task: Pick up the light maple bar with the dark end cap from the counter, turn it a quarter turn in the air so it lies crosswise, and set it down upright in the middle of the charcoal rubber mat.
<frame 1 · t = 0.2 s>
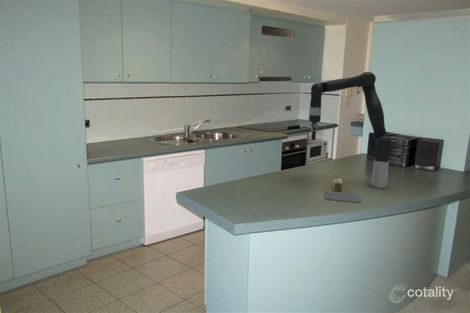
hand: (313, 138, 267), 28 cm above the countertop, tool pointing down, fingers open, 8 cm apart
mat: (342, 197, 238), on the countertop
maple bar: (337, 188, 256), on the countertop
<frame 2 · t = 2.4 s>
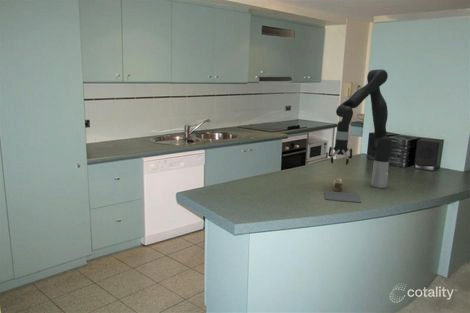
hand: (339, 164, 253), 16 cm above the countertop, tool pointing down, fingers open, 8 cm apart
nothing on the countertop moved.
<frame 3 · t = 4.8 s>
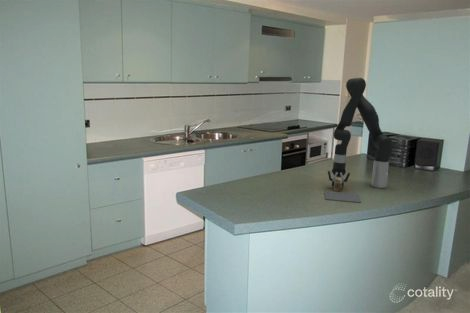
hand: (337, 187, 256), 1 cm above the countertop, tool pointing down, fingers closed on maple bar, 4 cm apart
maple bar: (337, 188, 256), on the countertop, touching gripper
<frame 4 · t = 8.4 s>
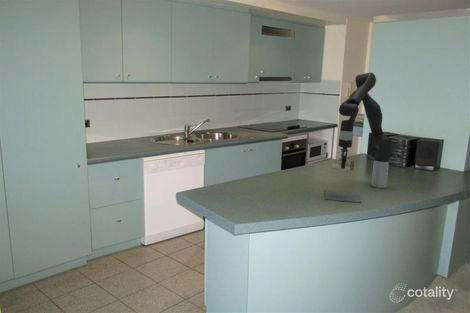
hand: (342, 167, 236), 18 cm above the countertop, tool pointing down, fingers closed on maple bar, 4 cm apart
maple bar: (342, 168, 237), point 17 cm above the countertop, touching gripper
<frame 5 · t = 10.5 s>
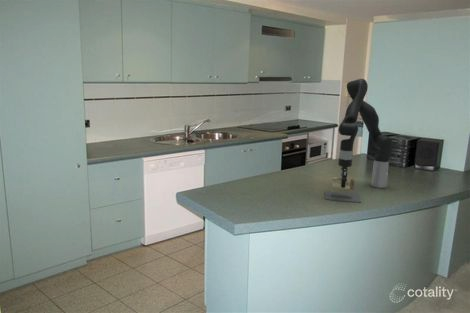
hand: (342, 186, 237), 7 cm above the countertop, tool pointing down, fingers closed on maple bar, 4 cm apart
maple bar: (342, 187, 237), point 6 cm above the countertop, touching gripper
when the fingers open (3 cm above the countertop, at t = 12.1 s): maple bar drops 2 cm, resting on mat.
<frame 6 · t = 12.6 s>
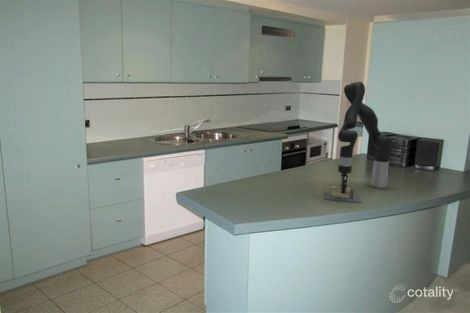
hand: (342, 191, 237), 4 cm above the countertop, tool pointing down, fingers open, 8 cm apart
maple bar: (342, 196, 238), point 1 cm above the countertop, touching mat
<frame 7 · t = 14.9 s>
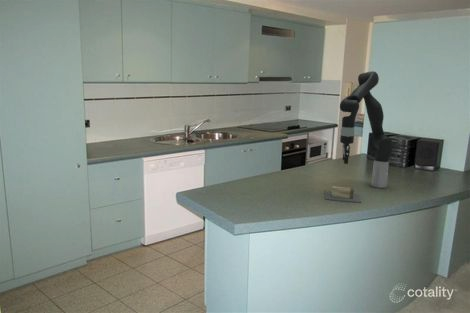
hand: (345, 162, 237), 21 cm above the countertop, tool pointing down, fingers open, 8 cm apart
nothing on the countertop moved.
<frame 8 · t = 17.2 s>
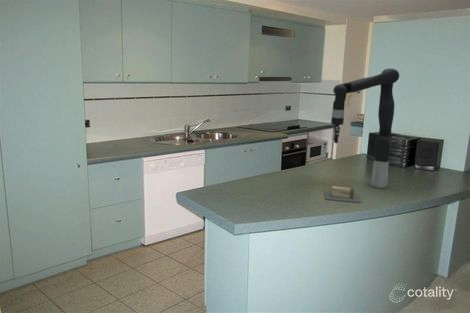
hand: (335, 141, 260), 28 cm above the countertop, tool pointing down, fingers open, 8 cm apart
nothing on the countertop moved.
at the end: maple bar inside the target area on the mat (0.1 cm from its centre), point 0.6 cm above the mat's base; maple bar tilted 0°; the gripper is holding nothing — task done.
